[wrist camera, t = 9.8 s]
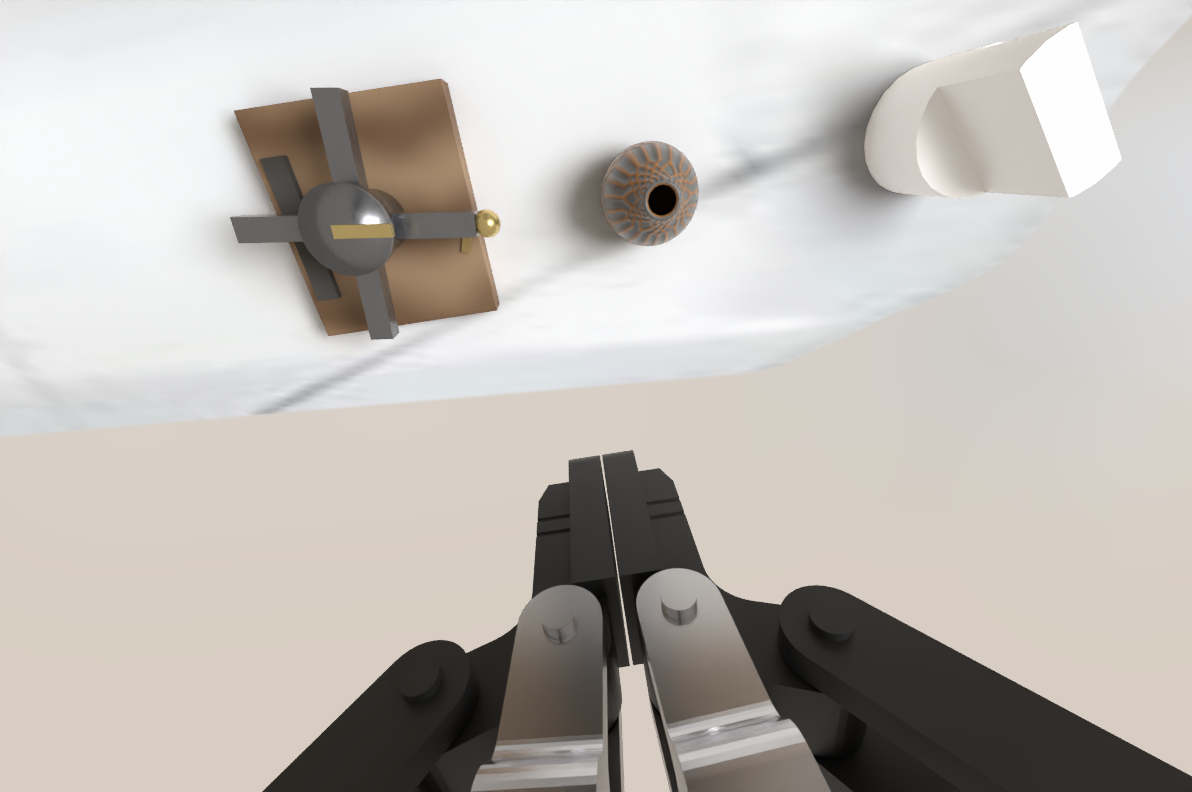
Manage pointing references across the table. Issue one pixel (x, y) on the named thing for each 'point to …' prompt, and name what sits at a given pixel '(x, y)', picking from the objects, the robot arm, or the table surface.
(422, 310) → the stand
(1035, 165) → the base with upright slab
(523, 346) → the table surface
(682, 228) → the vase
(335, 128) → the capstan
